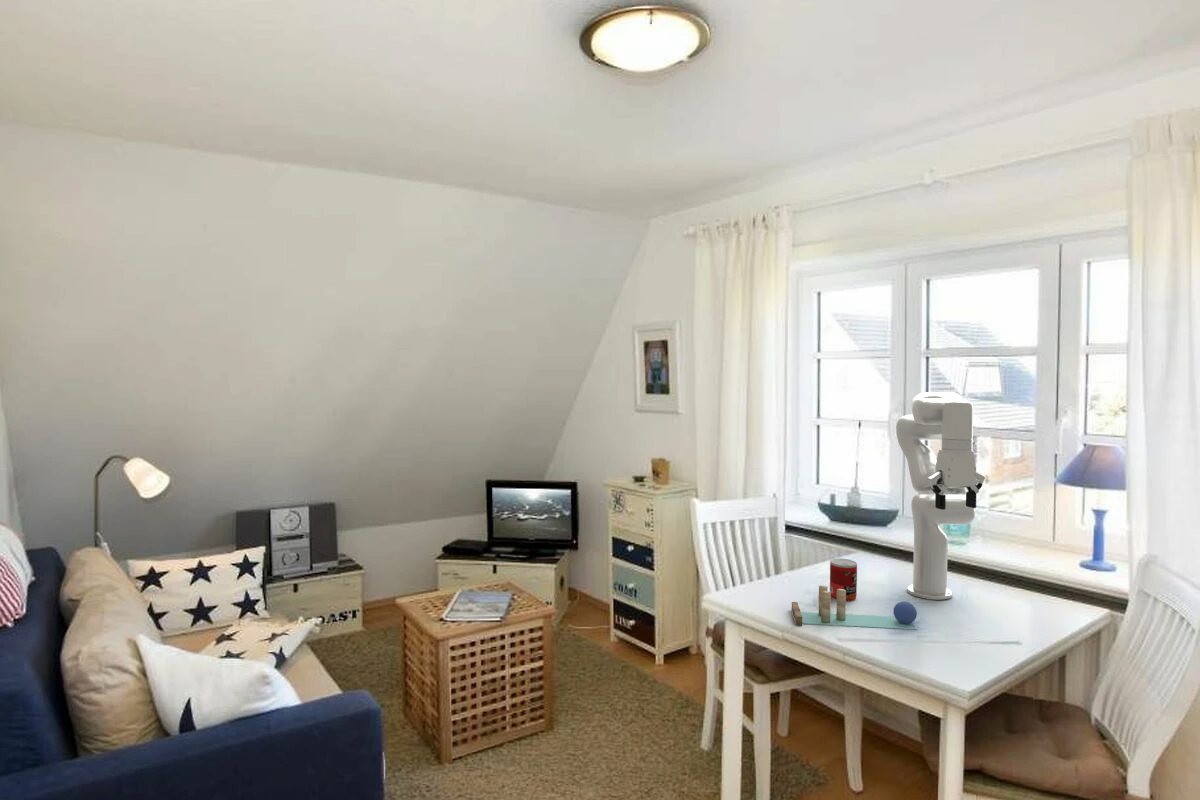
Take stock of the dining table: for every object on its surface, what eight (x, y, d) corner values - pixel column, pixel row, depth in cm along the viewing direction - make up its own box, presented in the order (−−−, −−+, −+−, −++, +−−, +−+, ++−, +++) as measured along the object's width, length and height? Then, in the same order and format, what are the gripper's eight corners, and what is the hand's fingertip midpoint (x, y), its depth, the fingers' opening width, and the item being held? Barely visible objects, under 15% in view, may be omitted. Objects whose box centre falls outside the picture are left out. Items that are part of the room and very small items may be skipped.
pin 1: (817, 614, 206) (818, 585, 205) (826, 614, 205) (827, 585, 205) (819, 617, 203) (819, 587, 203) (827, 617, 203) (828, 588, 202)
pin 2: (820, 620, 201) (820, 590, 200) (829, 621, 200) (829, 591, 200) (821, 623, 198) (822, 593, 198) (830, 624, 198) (831, 594, 197)
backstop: (791, 610, 209) (791, 601, 209) (797, 610, 209) (797, 602, 209) (796, 625, 197) (796, 616, 197) (802, 625, 197) (802, 616, 197)
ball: (890, 618, 202) (891, 597, 202) (913, 619, 201) (913, 598, 201) (896, 626, 196) (896, 605, 196) (919, 627, 195) (919, 606, 195)
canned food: (847, 603, 215) (848, 567, 214) (824, 596, 221) (824, 561, 220) (861, 597, 220) (862, 562, 219) (838, 591, 226) (838, 556, 225)
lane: (798, 612, 207) (798, 611, 207) (908, 617, 203) (908, 617, 203) (802, 623, 198) (802, 623, 198) (917, 629, 194) (917, 629, 194)
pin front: (835, 618, 203) (836, 588, 202) (844, 618, 202) (845, 589, 202) (837, 621, 200) (837, 591, 200) (846, 621, 200) (846, 591, 199)
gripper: (973, 443, 201) (972, 504, 202) (920, 445, 197) (919, 506, 198) (994, 446, 194) (993, 509, 195) (938, 447, 190) (937, 512, 191)
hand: (955, 508), depth 196 cm, fingers open, 9 cm apart
